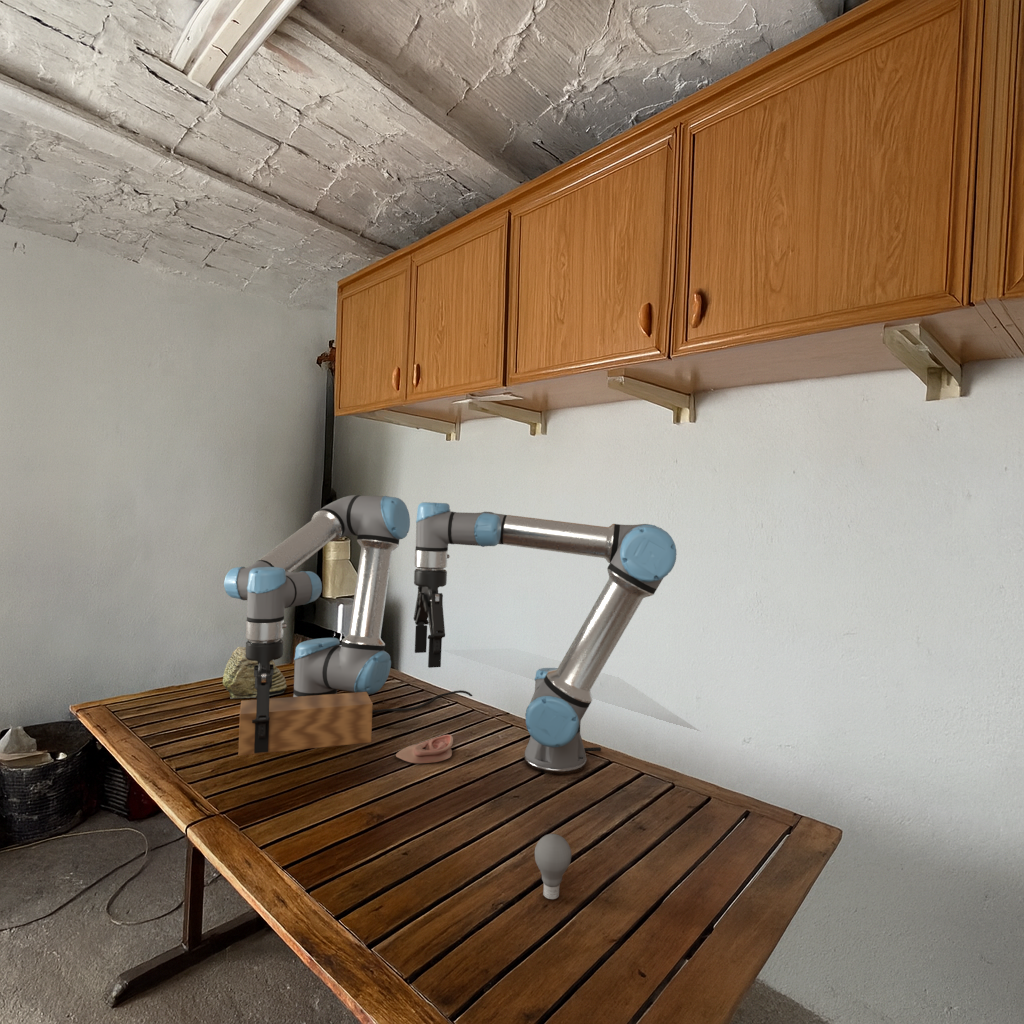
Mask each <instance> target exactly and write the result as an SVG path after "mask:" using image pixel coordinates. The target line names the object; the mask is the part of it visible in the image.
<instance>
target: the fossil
mask: <svg viewBox="0 0 1024 1024" xmlns="http://www.w3.org/2000/svg"><path fill="white" fill-rule="evenodd" d="M274 661H275V660H271V661H270V664H274V666H273V667H274V674H273V676H272V687H271V688H270V697H271V696H275V695H281V694H284V693H285V691H286V689H287V687H288V686H287V680H286V678H285V676H284V674H283V673H282V672H281V669H279V668H278V667H277V665H276V663H275V662H274ZM254 665H258V662H257V661H251V660H248V659H247V658H246V646H238V647H237V648H236V649H235V650H233V651H232V653H231V656H230V657H229V659H228V660H227V663H226V666H225V668H224V671H223V675H222V676H223V677H222V685H223V687H224V688H225V690H226V691H228V693H229V698H230V699H250V698H256V696H257V690H256V689H255V677H254Z"/></svg>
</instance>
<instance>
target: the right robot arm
mask: <svg viewBox="0 0 1024 1024" xmlns="http://www.w3.org/2000/svg"><path fill="white" fill-rule="evenodd" d="M450 507H451V506H450V504H449V503H447V502H430V501H429V502H427V501H425V502H423V501H422V502H420V503H419V504H418V505H417V510H416V511H417V512H416V520H415V524H416V525H415V549H414V567H416V568H415V570H414V571H413V584H414V585H415V586H416V587H417V594H416V595H417V596H416V602H415V607H414V613H413V621H414V624H415V632H414V634H415V635H414V653H415V654H424V653H427V643H428V656H427V667H428V669H430V668H431V669H432V668H442V667H441V666H442V643H443V638H445V637H446V630H445V619H444V618H445V617H444V605H443V603H444V602H443V600H444V599H443V598H444V595H443V593H442V592H439V588H440V587H441V588H443V587H445V586H446V585H447V582H448V581H447V578H448V571H447V570H446V568H447V567H448V559H449V558H450V554H448V551H449V545H462V546H477V547H482V548H484V547H496V546H497V545H505V546H511V547H517V548H518V547H520V548H526V549H533V550H534V549H535V550H540V551H541V550H542V551H549V552H556V553H563V554H570V555H578V556H579V555H580V556H585V557H594V558H601V559H605V561H606V562H607V563H608V566H607V568H606V571H607V574H608V580H607V582H606V583H605V585H604V586H603V589H602V590H601V592H600V594H599V595H598V597H597V599H596V600H595V602H594V604H593V605H592V608H591V609H590V611H589V613H588V614H587V616H586V618H585V620H584V621H583V623H582V625H581V627H580V629H579V630H578V632H577V634H576V636H575V638H574V639H573V641H572V643H571V644H570V646H569V648H568V649H567V651H566V653H565V655H564V656H563V658H562V660H561V662H560V664H559V665H558V667H541V668H538V669H537V670H536V672H535V677H534V682H535V683H534V692H533V694H532V697H531V700H530V701H529V704H528V706H527V707H526V710H525V726H526V729H527V732H528V733H529V736H530V737H529V739H528V742H527V745H526V747H525V750H524V763H525V764H526V766H528V767H529V768H530V769H532V770H534V771H537V772H540V773H543V774H548V775H559V776H560V775H561V776H563V775H572V774H576V773H579V772H581V771H583V770H584V769H585V768H586V766H587V753H589V752H601V751H602V748H601V747H600V746H598V747H595V746H594V747H593V746H592V747H585V746H584V742H583V739H582V735H581V721H582V719H583V717H584V715H585V714H586V713H587V710H588V709H589V707H590V706H591V704H592V702H593V696H592V692H591V690H592V688H593V687H594V684H595V682H596V681H597V679H598V677H599V675H600V674H601V673H602V670H603V669H604V667H605V665H606V663H607V662H608V660H609V659H610V657H611V655H612V654H613V652H614V650H615V649H616V647H617V645H618V643H619V641H620V639H621V638H622V637H623V634H624V633H625V631H626V629H627V627H628V626H629V624H630V622H631V620H632V619H633V617H634V615H635V614H636V612H637V610H638V608H639V607H640V605H641V603H642V602H643V600H644V599H645V598H648V597H651V596H654V595H655V593H656V591H657V590H658V588H659V586H660V585H661V583H662V581H663V580H664V578H665V577H667V576H668V575H669V573H671V572H672V570H673V569H674V567H675V564H676V561H677V555H678V554H677V547H676V543H675V541H674V539H673V537H672V536H671V535H670V533H669V532H668V531H666V530H665V529H663V528H662V527H660V526H657V525H655V524H649V523H639V524H619V523H612V524H611V525H610V526H603V525H602V526H601V525H593V524H585V523H577V522H568V521H561V520H553V519H545V518H535V517H527V516H519V515H511V514H504V513H496V512H493V511H482V512H457V511H451V509H450ZM428 627H429V634H428ZM586 752H587V753H586Z"/></svg>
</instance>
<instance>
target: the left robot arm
mask: <svg viewBox="0 0 1024 1024" xmlns="http://www.w3.org/2000/svg"><path fill="white" fill-rule="evenodd" d="M410 527H411V518H410V512H409V509H408V507H407V505H406V502H404V500H402V499H401V498H400V497H395V496H388V495H360V494H351V495H347V496H343V497H341V498H338V499H336V500H334V501H332V502H330V503H328V504H326V505H324V506H323V507H321V508H320V509H319V510H318V511H316V512H314V514H313V515H312V517H311V520H310V521H309V522H307V523H306V524H305V525H303V526H302V527H301V528H299V529H298V530H296V531H295V532H294V533H292V534H291V535H290V536H288V537H287V538H286V539H284V540H283V541H281V542H280V543H279V544H278V545H276V546H274V547H273V548H272V549H271V550H269V551H268V552H266V554H264V555H263V556H261V557H260V558H258V559H257V560H256V561H255V562H253V563H251V564H250V565H249V566H247V567H245V566H237V567H233V568H230V570H228V572H227V573H226V575H225V576H224V577H225V578H224V581H223V587H224V591H225V593H226V594H227V595H228V596H229V597H230V598H232V599H237V600H241V601H247V602H246V604H247V607H246V610H247V611H246V614H247V615H246V620H245V639H246V640H247V641H246V642H245V647H246V658H247V659H248V660H251V661H257V662H258V665H254V677H255V689H256V690H257V696H256V697H255V698H256V700H257V709H256V718H255V720H252V723H255V745H254V753H259V754H263V753H262V752H268V741H269V720H270V717H269V699H270V697H271V696H270V688H271V687H272V676H273V674H274V667H273V666H274V664H270V661H271V660H273V661H276V660H279V659H281V658H282V657H283V655H284V641H283V639H282V638H283V637H284V629H286V628H287V625H288V624H287V623H284V622H285V621H284V619H285V609H288V608H293V607H298V606H304V605H305V606H306V605H308V604H309V603H312V602H315V601H316V600H317V599H319V597H320V596H321V593H322V591H323V590H322V588H323V587H322V586H323V584H322V581H321V578H320V577H319V575H318V574H317V573H315V572H314V571H311V570H307V571H304V570H300V571H295V570H297V569H298V568H299V567H300V566H302V564H304V563H306V561H308V560H309V559H310V558H311V557H313V556H314V555H315V554H316V553H318V552H319V551H320V550H321V549H322V548H324V547H325V546H326V545H327V544H329V543H333V542H336V541H338V540H339V539H340V538H342V537H348V536H355V537H356V542H357V543H358V545H359V546H360V554H359V561H358V569H357V575H356V581H355V588H354V595H353V602H352V607H351V615H350V622H349V629H348V633H347V635H346V636H344V638H342V639H341V641H340V639H339V638H337V637H321V638H313V639H307V640H304V641H302V642H299V643H298V644H297V645H296V647H295V652H294V653H295V654H294V658H293V660H294V670H293V671H294V672H293V695H292V697H300V696H314V695H328V694H338V691H342V692H343V691H344V692H348V693H356V692H367V694H368V695H374V694H376V693H378V692H379V691H380V690H381V689H382V688H383V687H384V685H385V684H386V682H387V680H388V678H389V676H390V672H391V668H392V660H391V656H390V655H391V654H389V653H388V652H387V651H385V647H386V643H385V642H384V641H383V640H382V638H381V637H382V628H383V622H384V614H385V606H386V601H387V593H388V586H389V578H390V571H391V563H392V557H393V551H394V550H397V548H398V547H399V545H400V540H403V539H405V538H406V537H407V536H408V533H409V532H410ZM453 694H466V695H468V696H469V697H473V694H472V693H471V692H469V691H466V690H461V689H460V690H453V691H449V692H444V693H440V694H438V695H436V696H434V697H433V698H431V699H430V700H428V701H425V702H424V703H422V704H420V705H419V704H418V705H416V706H413V707H405V708H383V709H374V710H373V709H372V714H376V713H386V712H407V711H409V712H410V711H414V710H418V709H420V708H423V707H425V706H427V705H429V704H431V703H433V702H434V701H436V700H437V699H439V698H441V697H446V696H449V695H453Z"/></svg>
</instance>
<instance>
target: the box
mask: <svg viewBox="0 0 1024 1024" xmlns="http://www.w3.org/2000/svg"><path fill="white" fill-rule="evenodd" d="M373 705H374V704H373V702H372V700H371V697H370V696H369V694H367V692H356V693H355V692H345V693H343V692H342V693H337V694H328V695H314V696H300V697H293V696H286V697H273V698H269V717H270V720H269V741H268V752H262V753H261V754H268V753H278V752H289V751H297V750H308V749H317V748H318V749H319V748H328V747H338V746H346V745H347V746H348V745H357V744H358V745H359V744H368V743H372V734H373V733H372V730H373V713H372V710H373V709H374V708H373ZM256 709H257V699H249V700H248V699H245V700H244V699H243V700H241V701H240V707H239V722H238V723H239V726H238V727H239V728H238V753H237V754H238V756H248V755H258V754H260V753H254V745H255V723H252V720H255V718H256Z"/></svg>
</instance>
